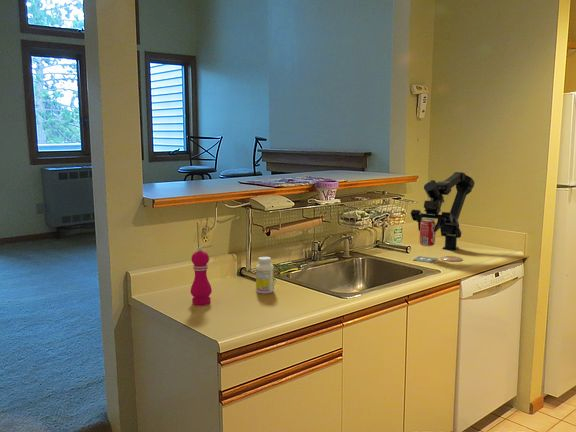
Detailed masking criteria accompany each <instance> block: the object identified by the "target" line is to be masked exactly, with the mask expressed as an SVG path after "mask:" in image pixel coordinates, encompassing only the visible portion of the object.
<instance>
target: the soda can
mask: <svg viewBox="0 0 576 432" xmlns="http://www.w3.org/2000/svg"><path fill="white" fill-rule="evenodd" d="M436 224H437V223H436V219H431V218H422V221H421V223H420V231H419V244H420V245H421V246H422V247H433V246H434V245H435V244H436V243H435V242H436V233H437V231H436V232H434V229H435V226H436Z"/></svg>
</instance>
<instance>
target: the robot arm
mask: <svg viewBox="0 0 576 432" xmlns="http://www.w3.org/2000/svg"><path fill="white" fill-rule="evenodd" d="M474 186H475V180H474V179H473V177H471V176H469V175H466V173H465V172H461V171H460V172H459V171H455V172H453V174H452V175H450V176H449V177H447V178H446V179H444V180H442V181H437V182H436V180H435V179H430V181H428V182H427V183H426V184H424V185H423V190H424V191H425V193H426V196H427V197H428V198H429V200H424V201H423V208H424V212H421V210H420V209H412V210H411V211H410V216H411V219H412V221H416V223H417V226H418V228H417V229H418V231H419V232H420V223H421V221H422V219H433V220H437V221H436V223H435V224H436V226H435V229H434V232H436V233H437V232H438V231H439V230H440V235H441V237H444V246H443V247H442V249H443V250H444V249H445V250H450V251H451V250H452V251H457V250H458V249H459V248H460V247H459V246H457V245H458V244H457V242H458V239H460V238H461V237H462V231H461V229H460V222H459V218H460V215H461V212H462V209H463V206H464V203H465V200H466V198H467V195H469V194H470V193H471V192H472V190H473V188H474ZM454 187H455V189H456V193H455V194H456V195H455V196H454V200H453V203H452V205H451V207H450V208H451V209H450V210H449V211H448V212H447V211H442V209H441V208H442V205H443V203H445V199H444V196H449V194H451V192H452V188H454ZM441 211H442V212H441ZM440 212H441V214H440Z"/></svg>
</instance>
